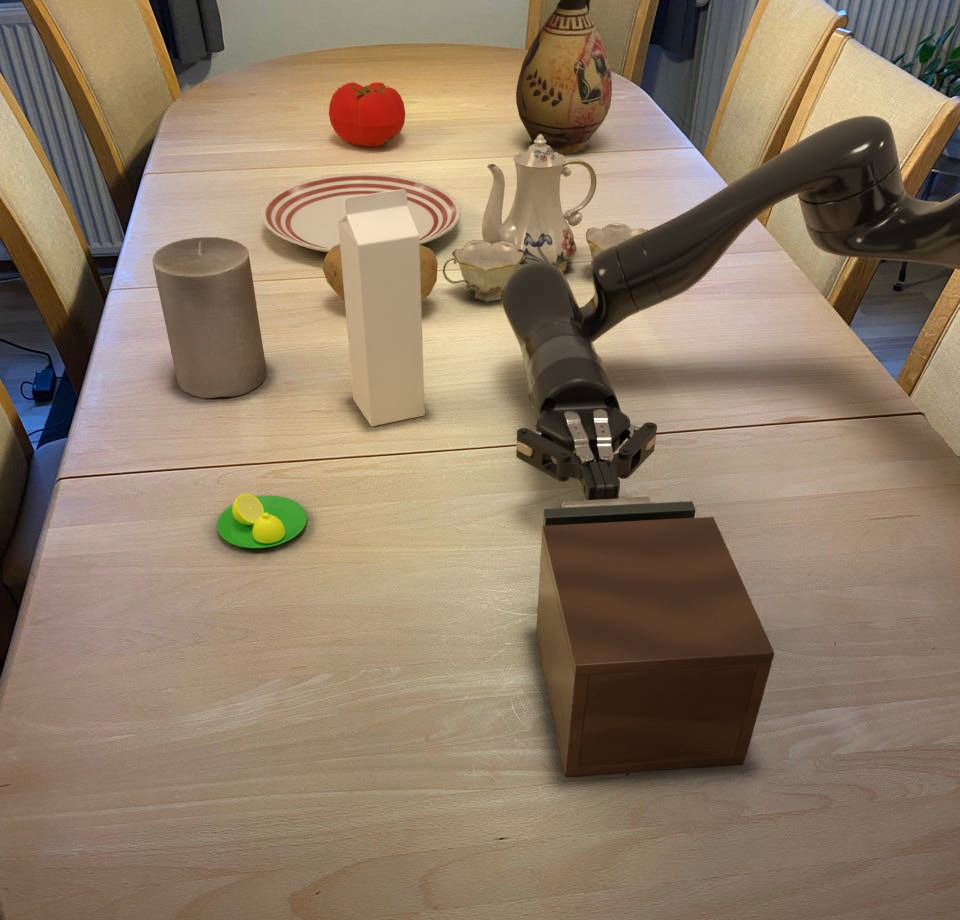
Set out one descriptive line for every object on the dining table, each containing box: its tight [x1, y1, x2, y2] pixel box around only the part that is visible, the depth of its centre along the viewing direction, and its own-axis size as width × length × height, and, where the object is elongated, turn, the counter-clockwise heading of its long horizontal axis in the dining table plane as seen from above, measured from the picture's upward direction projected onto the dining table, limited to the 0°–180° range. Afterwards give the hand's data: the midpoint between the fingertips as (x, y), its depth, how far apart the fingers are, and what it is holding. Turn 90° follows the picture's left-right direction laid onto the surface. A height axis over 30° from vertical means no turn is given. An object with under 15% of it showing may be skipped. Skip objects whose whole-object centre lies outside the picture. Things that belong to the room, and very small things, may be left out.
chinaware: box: [442, 134, 649, 302], centre depth 128 cm, size 28×17×17 cm, turn 114°
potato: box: [322, 244, 439, 304], centre depth 123 cm, size 10×14×8 cm
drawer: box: [537, 496, 697, 596], centre depth 78 cm, size 18×12×9 cm, turn 6°
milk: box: [338, 189, 426, 427], centre depth 101 cm, size 6×6×22 cm
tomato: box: [328, 81, 406, 148], centre depth 170 cm, size 14×13×9 cm
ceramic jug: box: [515, 0, 613, 155], centre depth 162 cm, size 17×15×30 cm
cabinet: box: [535, 516, 775, 777], centre depth 74 cm, size 15×13×11 cm
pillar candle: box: [152, 236, 268, 399], centre depth 108 cm, size 10×10×15 cm
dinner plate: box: [260, 172, 462, 253], centre depth 143 cm, size 27×27×3 cm
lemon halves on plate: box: [216, 492, 308, 549], centre depth 92 cm, size 8×8×3 cm
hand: (605, 498), depth 83 cm, fingers closed
